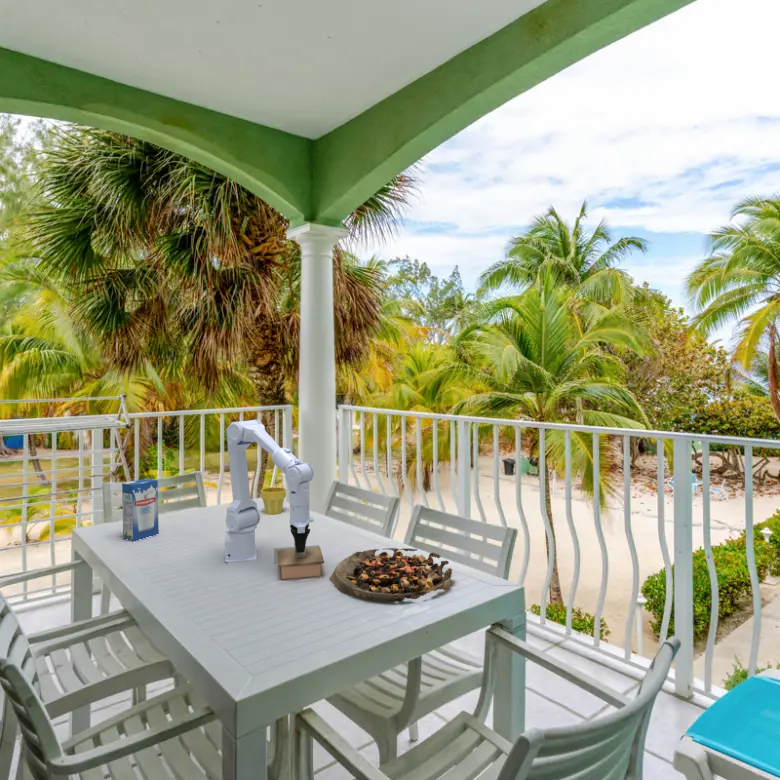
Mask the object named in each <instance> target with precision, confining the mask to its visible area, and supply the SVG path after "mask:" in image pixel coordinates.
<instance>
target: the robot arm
mask: <svg viewBox="0 0 780 780" xmlns="http://www.w3.org/2000/svg"><path fill="white" fill-rule="evenodd" d="M265 428H266V426H265V425H264V424H263V423H262V422H261V421H260V420H259V419H251V420H244V421H243V420H242V421H232V422H231V423H229V425H228V427H227V428H226V429H225V430H226V440H227V452H228V453H227V455H228V463H229V464H228V465H229V473H230V482H231V483H230V484H231V494H232V502H230V504H229V505H228V506H227V507H226V517H225V525H226V528H227V529H228V530H227V531H225V532H224V533H225V534H224V549H223V550H224V553H223V554H224V563H229V562H241V561H243V562H244V561H253V560H257V553H258V552H257V550H256V529H257V527H258V526H257V525H258V524H260V521H261V513H260V512H259V509H258V503H257V502H256V501H255V500H253V499H252V498H251V491H250V490H251V489H250V480H249V479H250V478H249V471H248V462H247V461H248V459H247V451H246V450H247V449H248V448H249V447H250V445H251V444H252V443H256V444H258V446H260V447H261V448H262V449H263V450H264V451H265V452H267V453H268V454H269V455H271V460H272V463H273V465H275V466H276V467H277V468H278V469H279V470H280V471H281V472H282V473H284V476H285V477H284V478H285V481H286V482H287V484H288V485H287V487H288V491H289V520H288V521H289V524H290V525H289V527H290V533H291V535H292V537H293V541H295V546H296V551H297V553H302V552H304V551H305V546H307V545H306V544H307V541H308V540H307V539H308V537H309V535H310V532H311V528H309V527H310V523H314V521H315V520H314V518H313V517H311V516H310V506H311V505H310V482H311V481H312V480H313V478H314V469H313V467H312V466H311V464H310V463H309V462H303V461H301V459H299V458H297V457H296V456H295V455H294V454H293V453H292V452H291V449H290V448H286V447H280V445H279V444H278V443H277V442H276V441H275V440H274V439H273V437H272V436H271V435H270V434H269V433H268V432H267V431H266V429H265Z"/></svg>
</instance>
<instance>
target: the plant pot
mask: <svg viewBox="0 0 780 780" xmlns="http://www.w3.org/2000/svg"><path fill="white" fill-rule="evenodd" d="M286 497H287V489H286V488H285V487H281V486H269V487H264V488H262V489H261V490H260V498H261V499H262V502H263V505H264V512H265V514H267V515H278V514H281V513H282V510H283V507H284V501H285V498H286Z"/></svg>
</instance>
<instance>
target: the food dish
mask: <svg viewBox="0 0 780 780" xmlns="http://www.w3.org/2000/svg"><path fill="white" fill-rule="evenodd" d="M379 550H380V548H377V549H376V548H374V549H367V550H363V551H355V552H354V553H352V554H351V555H349V556H347V557H345V558H343V560H342V561H340V562H339V563H338V564H337V565H336V567H335V568H334V570H333V572H332V574H331V575H330V577H329V579H328V581H329V582H331V583H332V584H333V586H334V588H336V589H337V591H339V593H341V594H347V595H349V596H350V597H356V598H362V599H366V600H372V601H373V600H374V601H378V602H394V601H404V600H405V599H411V600H416V599H418V598H420V597H421V596H427V594H428V593H429V594H430V593H431V592H436V591H437V590H448V589H449V588H450V586H451V582H452V581H451V580H452V579H451V578H452V574H453V569H452V568H451V567H449V568H447V569H446V570H445V573H444V572H443V568H444V567H445V566H446V565H449V561H448V560H441V561H440V565H439V563H437V562H436V563H434V559H435V558H437V559H439V560H440V558H441V557H442V556H441V554H439V553H435V552H430V553H429V554H428V557H427V558H426V557H425V556H424V555H423V554H421V555H418V554H413V555H412V556H410V555H409V556H408V555H404V553H403V552H402V551H405V552H408V551H409V552H415V551H418V548H409V547H408V548H397V547H394V548H393V547H386V548H382V549H381V550H390V551H393V553H392V555H389V553H388V552H387V551H383V552H381V553H378V554H376V552H378V551H379ZM433 557H434V558H433Z"/></svg>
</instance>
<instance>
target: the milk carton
mask: <svg viewBox="0 0 780 780" xmlns="http://www.w3.org/2000/svg"><path fill="white" fill-rule="evenodd" d="M158 483H159V482H158V479H153V478H143V479H142V478H141V479H138V480H134V481H128V482H127V481H126V482H122V483H121V484H122V485H121V487H122V489H121V491H122V530H123V531H122V534H123V535H122V538H125V539H128V540H127V541H129V540H132V541H131V542H133V541H135V542H137V541H136V540H139V539H142V540H144V539H143V538H146V537H149V536H152V537H154V536H153V535H156V534H159V533H160V531H159V491H158V490H159V489H158V488H159V485H158ZM156 536H157V535H156ZM149 538H150V537H149ZM125 539H124V540H125ZM146 539H147V538H146ZM139 541H140V540H139Z"/></svg>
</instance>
